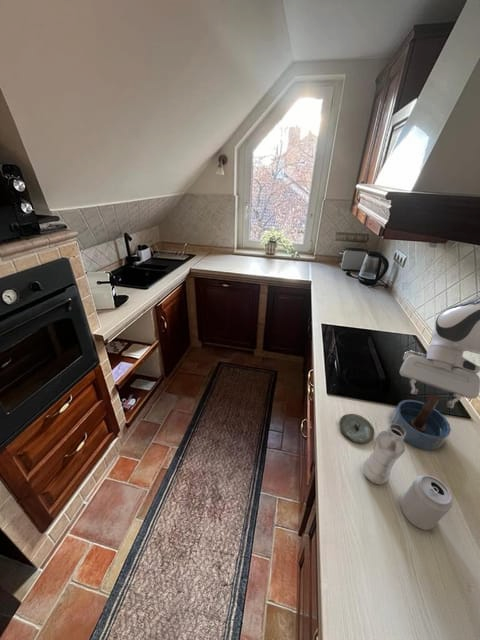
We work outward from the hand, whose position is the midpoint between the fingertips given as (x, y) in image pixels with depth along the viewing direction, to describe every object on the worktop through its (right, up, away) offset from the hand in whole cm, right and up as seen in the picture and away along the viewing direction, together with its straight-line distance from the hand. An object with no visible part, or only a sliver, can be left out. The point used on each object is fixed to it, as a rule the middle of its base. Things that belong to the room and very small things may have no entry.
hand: (431, 400), depth 79 cm
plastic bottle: (-22, -19, -8) cm, 30 cm away
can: (-16, -24, -15) cm, 32 cm away
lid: (-22, -12, +5) cm, 25 cm away
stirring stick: (-1, -11, +5) cm, 12 cm away
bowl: (-1, -12, +5) cm, 13 cm away
